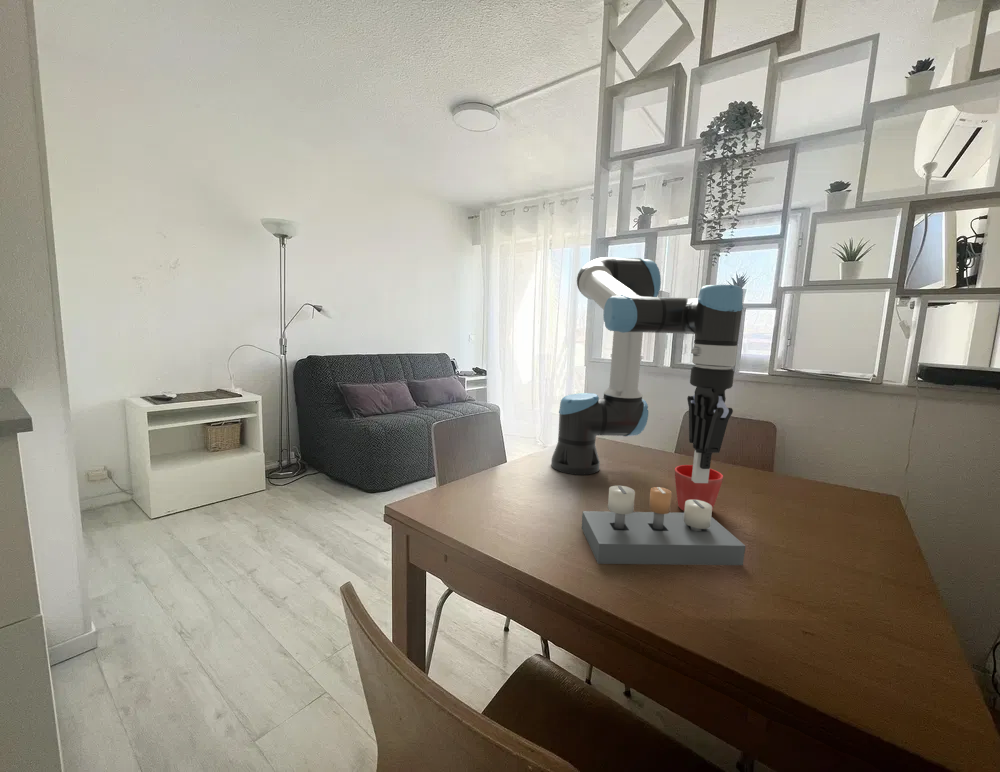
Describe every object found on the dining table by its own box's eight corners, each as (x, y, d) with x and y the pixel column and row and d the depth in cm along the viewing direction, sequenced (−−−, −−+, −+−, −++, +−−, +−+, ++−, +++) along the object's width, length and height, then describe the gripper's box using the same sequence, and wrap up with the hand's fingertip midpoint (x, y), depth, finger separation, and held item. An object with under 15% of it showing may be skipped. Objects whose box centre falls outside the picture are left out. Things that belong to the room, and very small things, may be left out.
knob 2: (677, 534, 89) (681, 498, 88) (700, 534, 89) (704, 498, 88) (688, 546, 84) (692, 508, 83) (713, 546, 84) (717, 509, 83)
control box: (581, 528, 93) (582, 511, 93) (705, 529, 94) (707, 513, 94) (597, 563, 79) (599, 543, 79) (743, 565, 80) (745, 545, 80)
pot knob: (644, 522, 88) (647, 486, 87) (663, 522, 88) (666, 486, 87) (652, 531, 84) (655, 493, 83) (671, 532, 84) (675, 494, 83)
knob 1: (603, 520, 88) (606, 484, 87) (627, 521, 88) (630, 484, 87) (610, 532, 83) (613, 494, 82) (635, 532, 84) (638, 494, 82)
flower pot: (725, 521, 99) (729, 481, 98) (676, 515, 101) (679, 476, 100) (712, 502, 109) (716, 466, 108) (667, 498, 111) (670, 462, 110)
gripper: (678, 362, 88) (667, 469, 92) (711, 370, 75) (697, 494, 79) (713, 363, 88) (701, 470, 92) (752, 371, 75) (736, 495, 79)
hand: (699, 481), depth 85 cm, fingers closed
